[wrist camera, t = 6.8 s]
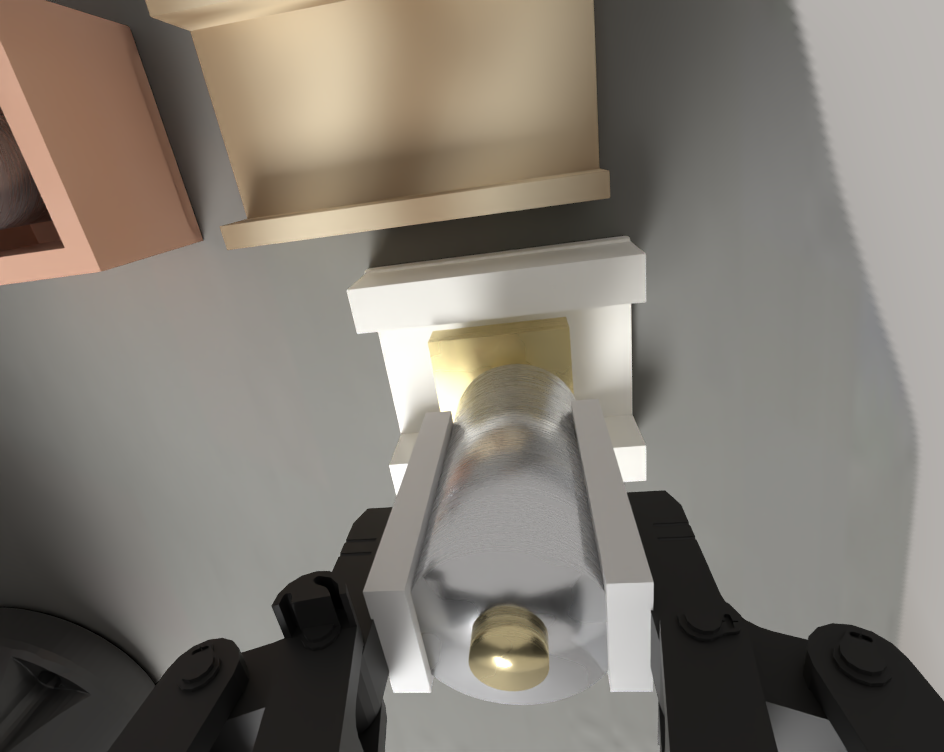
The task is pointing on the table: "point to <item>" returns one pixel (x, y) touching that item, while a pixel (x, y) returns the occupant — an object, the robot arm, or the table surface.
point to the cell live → (512, 548)
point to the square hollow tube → (86, 146)
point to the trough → (396, 109)
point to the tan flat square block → (497, 353)
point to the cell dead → (17, 185)
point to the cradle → (505, 301)
